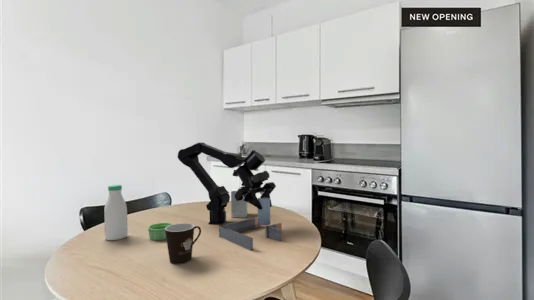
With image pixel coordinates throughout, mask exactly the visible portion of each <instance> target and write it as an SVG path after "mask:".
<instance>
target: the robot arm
mask: <svg viewBox="0 0 534 300" xmlns="http://www.w3.org/2000/svg"><path fill="white" fill-rule="evenodd" d="M201 154H204V155H206V156H209V157H212V158H213V159H216V160H219V161H220V162H221V163H222V164H223V165H225V166H226V167H227V168H230V169H233V173H232V176H233V177H236V178H237V177H239V179H240V181H241V186H239V188H237V189H238V190H237V192H236V193H235V199H236V200H237V201H240V200H243V195H244V197H245V199H244V201H246V202H247V204H251V206H253V207H255V208H257V210H258V209H260V210H261V209H262V206H261V204H260V202H259V200H258V197H257V194H260V195H261V196H259V198H270V208H271V207H272V206H273V204H272V200H271V193H272V192H273V191H274V190H275V188H277V186H276V184H275V182H274V181H270V182H266V183H265V184H264V182H265V181H268V180H269V179H270V172H268V171H267V170H264V171H261V172H257V173H256V174H254V172H252V171H257V170H258V169H259V168H260V167H261V166H262V165H263V164H264V163H265V162H266V159H265V157H264V156H263V154H260V153H259V152H258V151H256V150H255V149H254V150H251V152H250V153H249V154H248V155H247V156H246V157H243V155H241V154H240V153H235V152H228V151H225V150H222V149H219V148H217V147H214V146H211V145H209V144H207V143H205V142H196V143H195V144H192V145H190V146H188V147H185V148H181V149H179V151H178V152H177V159H178V161H180V162H181V164H183V165H184V166H186V167H188V168H189V169H190V170H191V171H192V172H193V174H194V175H195V176H196V179H198V180H199V182H200V183H201V185H202V186H203V187H204V188H205V190H206V191H207V193H208V198H209V200H210V201H208V203H207V204H206V209H207V211H209V222H208V225H224V224H225V222H226V221H227V211H226V207H227V206H228V203H229V202H230V201H231V194H230V192H229V191H228V190H227V188H226V187H225V186H224V185H222V186H219V185H217V183H216V182H215V180H213V178H212V177H211V176H210V174H209V173H208V172H207V170H206V169H205V168H204V167H203V165H202V164H201V162H200V161H199V155H201ZM234 168H236V169H234ZM263 184H264V185H263Z"/></svg>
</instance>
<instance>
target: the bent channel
mask: <svg viewBox="0 0 534 300" xmlns="http://www.w3.org/2000/svg"><path fill="white" fill-rule="evenodd" d="M260 227H262V225H258V216H256V217H252V218H247V219H243V220H240V221H233V222H231V223H226V224H225V223H224V224H220V225H218V237H220V238H221V239H225V240H226V241H228V242H231V243H232V244H235V245H238V246H240V247H242V248H243V249H246V250H249V251H254V241H253V239H254V238H253V237H251V236H248V235H246V234H243V233H241V232H244V231H248V230H251V229H255V228H260ZM282 228H283V227H282V222H277V223H273V224H270V225H265V238H269V239H272V240H275V241H277V242H282V233H283V231H282V230H283V229H282Z"/></svg>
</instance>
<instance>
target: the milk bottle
mask: <svg viewBox="0 0 534 300" xmlns="http://www.w3.org/2000/svg"><path fill="white" fill-rule="evenodd" d="M107 190H108V197H107V200H106V201H105V204H104V213H103V214H104V217H103V218H104V238H105V240H106V241H118V240H122V239H125V238H127V237H128V235H129V234H128V233H129V232H128V231H129V230H128V227H129V226H128V207H127V202H126V201H125V199H124V197H123V194H122V190H123V185H122V184H112V185H108V187H107Z"/></svg>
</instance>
